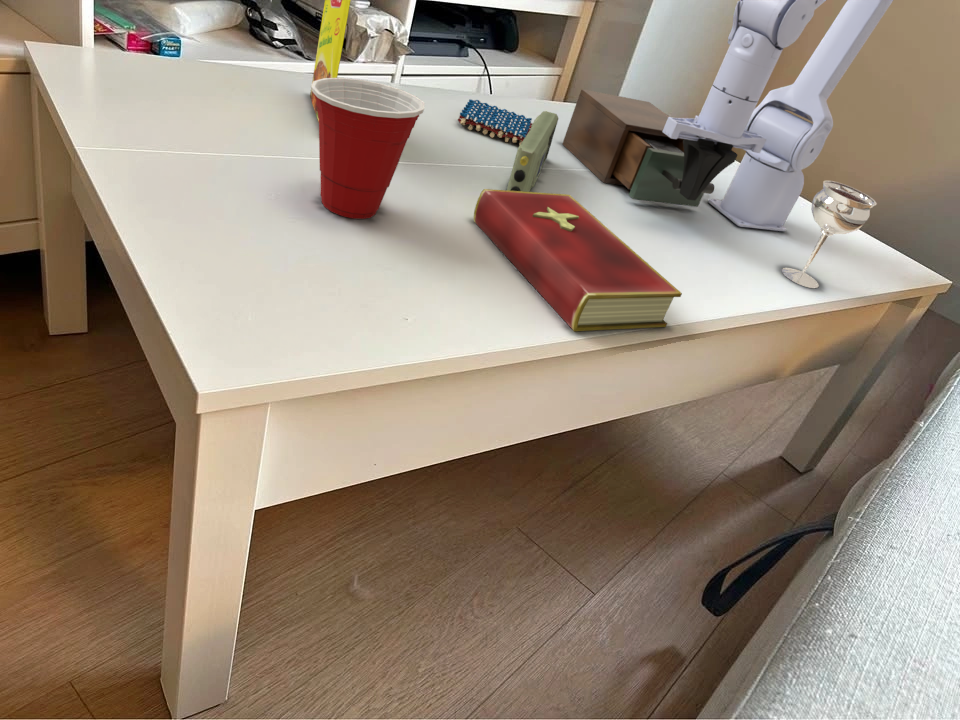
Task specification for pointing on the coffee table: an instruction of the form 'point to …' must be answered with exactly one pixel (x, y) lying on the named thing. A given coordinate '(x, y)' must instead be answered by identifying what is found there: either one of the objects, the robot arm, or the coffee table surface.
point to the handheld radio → (533, 153)
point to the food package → (330, 42)
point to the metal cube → (662, 145)
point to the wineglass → (833, 220)
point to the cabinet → (608, 129)
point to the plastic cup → (360, 141)
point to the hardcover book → (574, 261)
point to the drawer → (653, 170)
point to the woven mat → (495, 121)
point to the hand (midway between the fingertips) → (687, 196)
